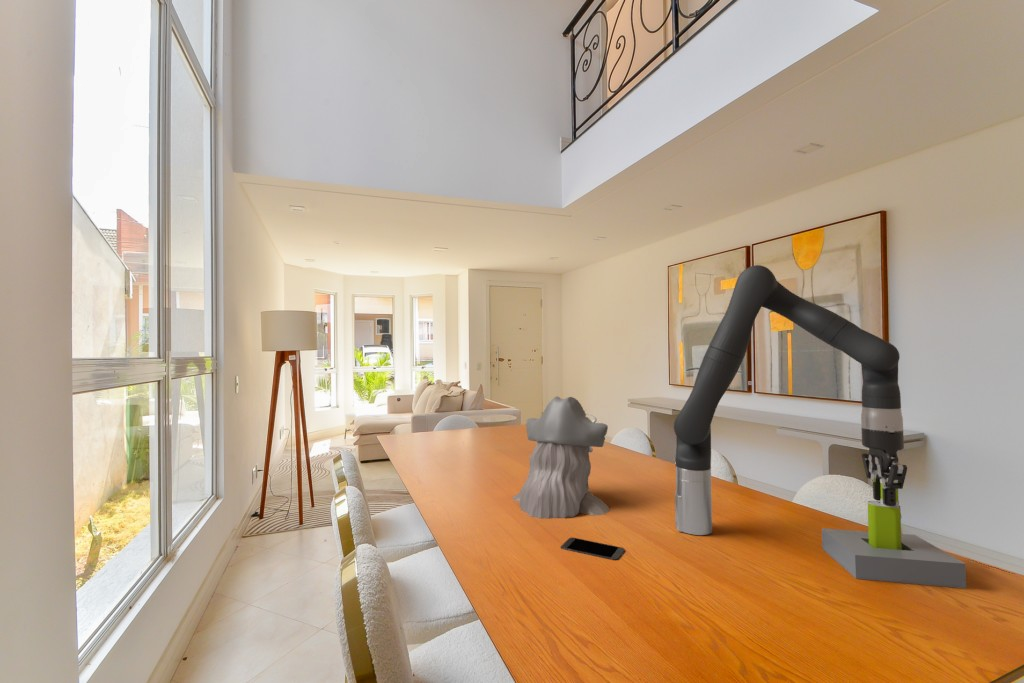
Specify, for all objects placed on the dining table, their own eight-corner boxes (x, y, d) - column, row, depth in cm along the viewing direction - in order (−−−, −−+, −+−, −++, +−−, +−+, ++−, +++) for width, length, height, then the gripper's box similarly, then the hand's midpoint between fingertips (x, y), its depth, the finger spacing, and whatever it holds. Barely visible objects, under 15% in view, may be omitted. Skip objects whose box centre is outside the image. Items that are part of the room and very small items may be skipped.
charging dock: (855, 578, 98) (855, 555, 98) (822, 548, 113) (821, 528, 114) (966, 588, 93) (965, 563, 94) (915, 555, 109) (914, 534, 109)
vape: (904, 566, 101) (901, 475, 102) (870, 559, 104) (868, 471, 105) (900, 559, 104) (898, 471, 105) (867, 554, 107) (865, 468, 108)
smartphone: (617, 562, 106) (617, 559, 106) (559, 550, 114) (559, 546, 114) (626, 551, 113) (626, 547, 113) (570, 540, 120) (570, 536, 120)
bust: (625, 497, 156) (624, 395, 158) (588, 528, 127) (587, 403, 129) (539, 483, 174) (539, 392, 176) (489, 508, 145) (489, 398, 147)
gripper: (847, 422, 113) (850, 493, 112) (880, 431, 99) (883, 511, 98) (882, 423, 111) (885, 495, 110) (921, 432, 97) (924, 514, 96)
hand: (884, 502), depth 104 cm, fingers closed on vape, 3 cm apart
